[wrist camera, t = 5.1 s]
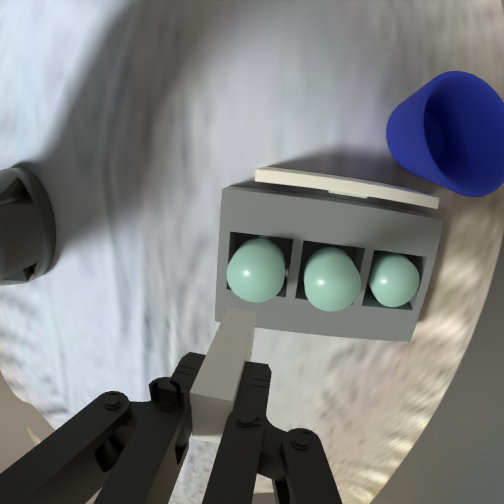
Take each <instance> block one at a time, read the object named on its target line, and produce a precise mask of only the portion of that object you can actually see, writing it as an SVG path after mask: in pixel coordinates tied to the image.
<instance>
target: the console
mask: <svg viewBox="0 0 504 504" xmlns="http://www.w3.org/2000/svg"><path fill="white" fill-rule="evenodd" d="M443 223H444V220H441V219H439V218H437V217H435V216H433V215H431V214H427V213H422V212H416V211H411V210H405V209H400V208H394V207H389V206H383V205H377V204H371V203H364V202H358V201H352V200H345V199H338V198H331V197H324V196H316V195H309V194H301V193H293V192H284V191H276V190H267V189H257V188H247V187H237V186H228V187H226V188H224V189H222V200H221V215H220V230H219V246H218V264H217V283H216V305H215V321H218V322H221V321H222V319H223V317H224V315H225V312H226V310H227V308H234V309H241V310H248V311H255V312H256V320H255V327H258V328H265V329H273V330H281V331H289V332H297V333H306V334H315V335H325V336H336V337H347V338H359V339H373V340H388V341H407V342H410V340H411V338H412V335H413V332H414V329H415V326H416V323H417V321H418V318H419V315H420V311H421V308H422V305H423V302H424V299H425V295H426V292H427V289H428V285H429V282H430V278H431V274H432V271H433V267H434V263H435V259H436V255H437V251H438V246H439V242H440V237H441V233H442V228H443ZM236 232H239V233H248V234H256V235H265V236H273V237H281V238H289V239H293V241H292V248H291V256H290V263H289V271H288V278H287V284H284V283H283V286H282V288H281V290H280V291H279V293H278V294H277V295H276V296H274V297H273V298H271V299H270V300H267V301H264V302H249V301H246V300H244V299H242V298H240V297H239V296H237V295H236V294H235V293H234V292H233V291H232V289H231V288H230V286H229V284H228V281H227V268H228V265H229V263H230V261H231V259H232V258H233V256H234V252H235V239H236ZM304 240H305V241H313V242H321V243H329V244H336V245H344V246H352V247H357V248H356V254H355V259H354V265H355V267H356V268H357V270H358V272H359V275H360V278H361V289H360V292H359V295H358V296H357V298H356V299H355V301H354V302H353V303H352V304H351V305H349V306H348V307H346V308H344V309H342V310H339V311H332V312H331V311H324V310H321V309H318V308H317V307H315V306H314V305H313V304H312V303H311V302H310V301H309V300H308V298H307V296H306V293H305V286H301V285H297V282H298V276H299V269H300V262H301V255H302V248H303V241H304ZM374 250H381V251H388V252H396V253H403V254H410V255H414V256H413V261H412V264H413V265H414V266H415V267H416V269H417V271H418V273H419V287H418V289H417V292H416V293H415V295H414V296H413V298H412V299H411V300H409V301H408V302H407V303H405V304H403V305H401V306H397V307H388V306H385V305H383V304H381V303H380V302H379V301H378V300H377V299H376V297H375V295H374V294H371V293H365V289H366V285H367V281H368V276H369V272H370V267H371V263H372V258H373V253H374Z"/></svg>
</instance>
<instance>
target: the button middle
mask: <svg viewBox="0 0 504 504" xmlns="http://www.w3.org/2000/svg"><path fill="white" fill-rule="evenodd" d="M304 285H305V293H306V296H307V298H308V300H309V301H310V302H311V303H312V304H313V305H314V306H315V307H317V308H318V309H321V310H324V311H331V312H332V311H339V310H342V309H344V308H346V307H348V306H349V305H351V304H352V303H353V302H354V301H355V299H356V298H357V296H358V295H359V292H360V289H361V278H360V275H359V272H358V270H357V268H356V267H355V265H354V263H353V261H352V259H351V258H350V256H349V255H348V254H347V253H346V252H344V251H343V250H341V249H338V248H335V247H326V248H322V249H319V250H317V251H316V252H314V253H313V254H312V255H311V256H310V257H309V258H308V259H307V261H306V263H305V266H304Z"/></svg>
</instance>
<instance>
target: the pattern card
mask: <svg viewBox="0 0 504 504" xmlns="http://www.w3.org/2000/svg"><path fill="white" fill-rule="evenodd" d="M255 181H257V182H264V183H274V184H283V185H291V186H301V187H309V188H317V189H324V190H328V192H329V193H335V194H341V195H348V196H355V197H361V198H367V196H370V197H376V198H382V199H387V200H392V201H398V202H403V203H408V204H413V205H420V206H425V207H430V208H435V209H438V204H439V198H438V197H435V196H431V195H428V194H425V193H422V192H419V191H416V190H412V189H409V188H405V187H400V186H395V185H390V184H384V183H379V182H373V181H367V180H361V179H355V178H349V177H343V176H336V175H329V174H322V173H315V172H307V171H299V170H291V169H282V168H273V167H262V168H259V169H256V174H255Z"/></svg>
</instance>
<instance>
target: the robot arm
mask: <svg viewBox="0 0 504 504" xmlns="http://www.w3.org/2000/svg"><path fill="white" fill-rule="evenodd" d="M54 249H55V223H54V216H53V212H52V208H51V204H50V201H49V198H48V196H47V194H46V191H45V189H44V188H43V186H42V184H41V183H40V181H39V180H38V179H37V177H36V176H35V175H34V174H33V173H31V172H30V171H29V170H27V169H25V168H21V167H15V168H8V169H3V170H1V171H0V286H1V285H12V284H23V283H27V282H30V281H32V280H34V279H35V278H37V277H39V276H41V275H42V274H43V273H44V272H45V271H46V270H47V269H48V267H49V265H50V263H51V261H52V258H53V254H54ZM255 320H256V312H255V311H248V310H241V309H234V308H227V310H226V312H225V315H224V317H223V319H222V321H221V323H220V326H219V328H218V330H217V332H216V335H215V337H214V339H213V341H212V343H211V346H210V348H209V350H208V352H207V355H203V354H198V353H193V352H189V353H188V354H186V355H185V356H183V357H182V358H181V360H180V362H179V364H178V366H177V367H176V369H175V372H174V373H173V375H172V376H171V377H162V378H157V379H155V380H153V381H152V382H151V383H150V384H149V389H150V396H151V401H148V402H132V401H129V399H128V397H127V396H126V395H125V394H123V393H121V392H118V391H109V392H105V393H103V394H101V395H100V396H98V397H97V398H96V399H95V400H93V401H92V402H91V403H90V404H88V405H87V406H86V407H85V408H83V409H82V410H81V411H80V412H78V413H77V414H76V415H75V416H73V417H72V418H71V419H70V420H68V421H67V422H66V423H65V424H63V425H62V426H61V427H60V428H58V429H57V430H56V431H55V432H53V433H52V434H51V435H50V436H48V437H47V438H46V439H45V440H43V441H42V442H41V443H39V444H38V445H37V446H36V447H34V448H33V449H32V450H31V451H29V452H28V453H27V454H25V455H24V456H23V457H22V458H20V459H19V460H18V461H16V462H15V463H14V464H13V465H11V466H10V467H9V468H7V469H6V470H5V471H3V472H2V473H1V474H0V504H85V503H86V502H87V501H88V500H89V499H90V498H91V497H92V496H93V495H94V494H95V493H96V492H97V491H98V490H99V489H100V488H101V487H102V486H103V487H102V489H101V491H100V492H99V495H98V496H97V498H96V500H95V502H94V503H93V504H168V502H169V499H170V497H171V494H172V491H173V489H174V486H175V483H176V481H177V478H178V475H179V473H180V470H181V467H182V465H183V462H184V459H185V457H186V454H187V451H188V449H189V437H190V435H191V432H192V438H195V439H199V440H204V441H208V442H213V443H218V444H219V448H218V451H217V455H216V458H215V462H214V465H213V468H212V472H211V475H210V478H209V482H208V485H207V488H206V492H205V495H204V498H203V502H202V504H251V503H252V498H253V492H254V486H255V481H256V475H257V473H258V474H261V475H263V476H265V477H268V478H270V479H272V484H273V489H274V494H275V500H276V504H342V501H341V498H340V495H339V492H338V489H337V486H336V483H335V481H334V478H333V475H332V472H331V469H330V466H329V463H328V460H327V458H326V455H325V452H324V449H323V446H322V443H321V440H320V439H319V437H318V435H317V434H315V433H314V432H313V431H311V430H308V429H304V428H296V429H292V430H290V431H288V432H286V431H283V430H281V429H278V428H276V427H274V426H273V425H272V424H271V423H270V422H269V421H268V419H267V417H266V409H267V402H268V395H269V388H270V380H271V373H272V372H271V370H270V368H269V366H268V364H262V363H255V362H250V359H251V355H252V347H253V338H254V329H255Z"/></svg>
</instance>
